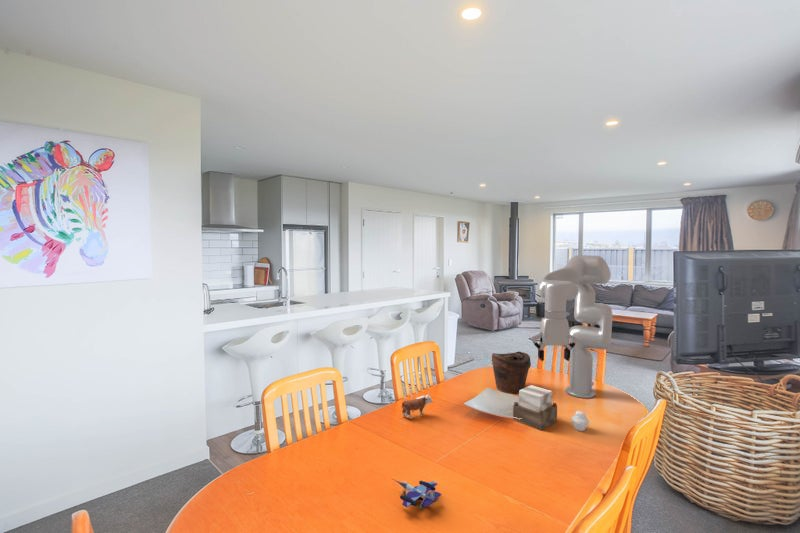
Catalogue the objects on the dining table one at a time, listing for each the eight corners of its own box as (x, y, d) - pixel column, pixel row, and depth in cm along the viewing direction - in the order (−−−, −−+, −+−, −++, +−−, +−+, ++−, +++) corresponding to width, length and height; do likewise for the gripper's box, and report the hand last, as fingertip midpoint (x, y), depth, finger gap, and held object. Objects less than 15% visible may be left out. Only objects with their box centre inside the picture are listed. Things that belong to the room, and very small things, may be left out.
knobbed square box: (529, 411, 166) (529, 383, 165) (556, 421, 157) (557, 391, 156) (513, 419, 158) (513, 390, 158) (541, 430, 149) (541, 399, 149)
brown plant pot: (535, 385, 196) (535, 349, 195) (524, 399, 179) (524, 359, 178) (499, 379, 206) (499, 345, 205) (486, 392, 189) (485, 354, 188)
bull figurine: (434, 415, 162) (434, 395, 162) (403, 420, 158) (403, 400, 157) (429, 411, 167) (429, 392, 166) (399, 416, 162) (399, 396, 161)
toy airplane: (389, 486, 115) (389, 474, 115) (437, 485, 116) (437, 473, 116) (389, 517, 102) (389, 503, 102) (443, 516, 103) (443, 503, 102)
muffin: (572, 424, 155) (572, 406, 154) (589, 427, 152) (590, 409, 151) (569, 430, 149) (570, 412, 149) (587, 434, 146) (588, 415, 146)
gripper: (573, 313, 155) (572, 357, 156) (528, 313, 154) (527, 357, 155) (582, 317, 147) (581, 362, 148) (535, 316, 147) (534, 362, 148)
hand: (553, 359), depth 152 cm, fingers open, 9 cm apart
